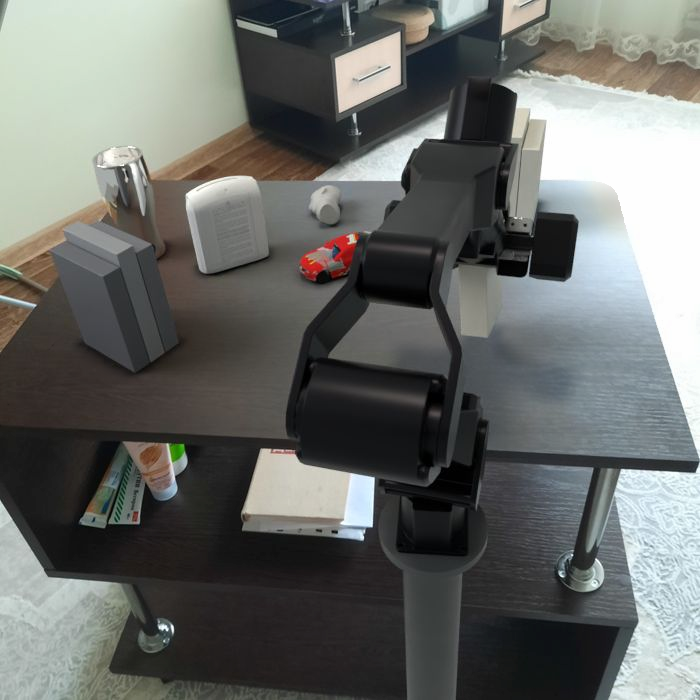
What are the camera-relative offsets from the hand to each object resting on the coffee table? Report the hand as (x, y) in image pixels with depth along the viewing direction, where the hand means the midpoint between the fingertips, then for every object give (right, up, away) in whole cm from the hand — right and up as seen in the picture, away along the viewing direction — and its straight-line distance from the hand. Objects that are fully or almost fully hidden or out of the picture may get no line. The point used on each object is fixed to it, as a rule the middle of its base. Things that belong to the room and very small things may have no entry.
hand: (482, 259), depth 80 cm
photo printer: (-31, +2, +23) cm, 38 cm away
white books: (+9, +9, +27) cm, 30 cm away
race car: (-15, +1, +20) cm, 25 cm away
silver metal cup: (-44, +4, +26) cm, 52 cm away
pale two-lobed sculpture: (-18, +10, +31) cm, 38 cm away
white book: (+1, -7, +3) cm, 7 cm away
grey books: (-41, -9, +10) cm, 43 cm away
